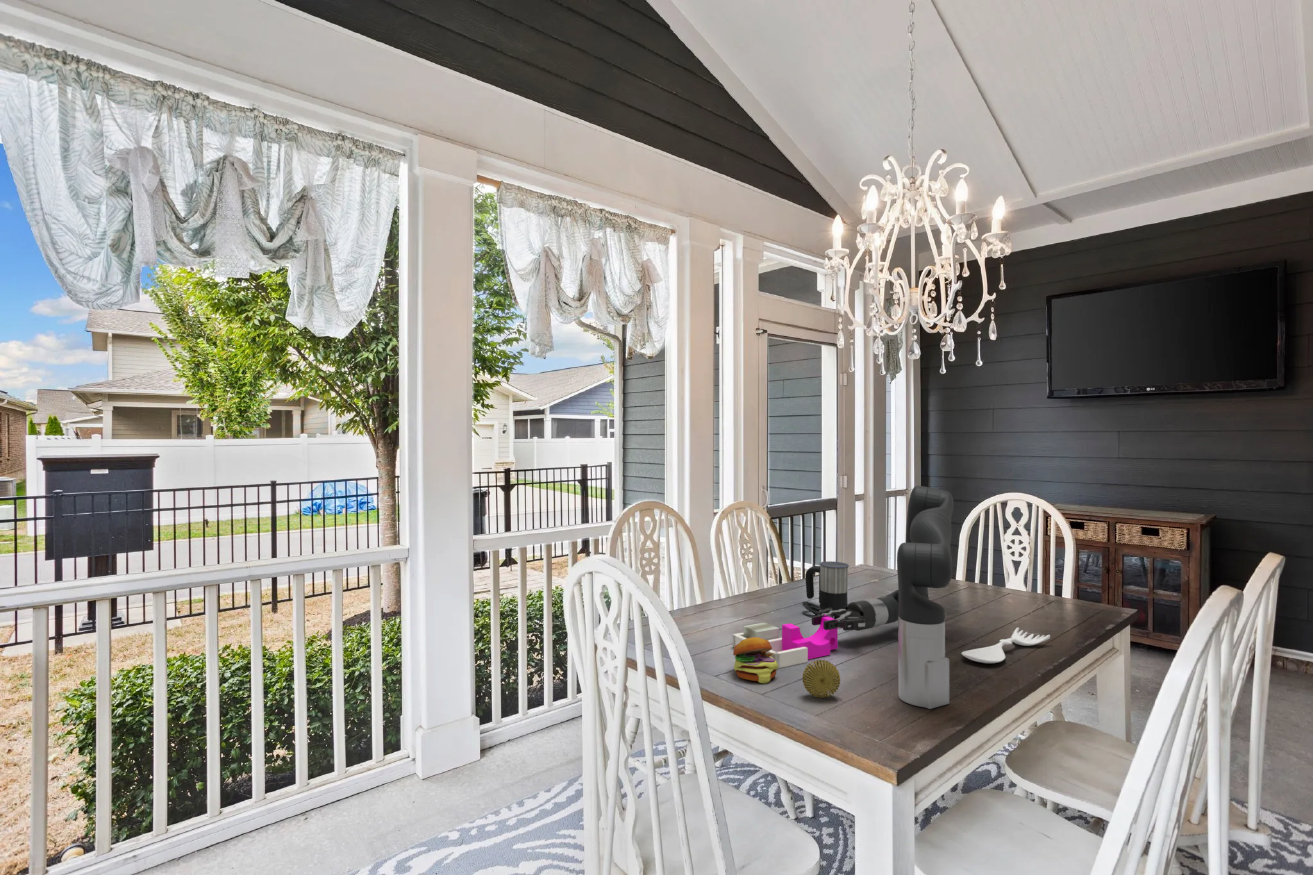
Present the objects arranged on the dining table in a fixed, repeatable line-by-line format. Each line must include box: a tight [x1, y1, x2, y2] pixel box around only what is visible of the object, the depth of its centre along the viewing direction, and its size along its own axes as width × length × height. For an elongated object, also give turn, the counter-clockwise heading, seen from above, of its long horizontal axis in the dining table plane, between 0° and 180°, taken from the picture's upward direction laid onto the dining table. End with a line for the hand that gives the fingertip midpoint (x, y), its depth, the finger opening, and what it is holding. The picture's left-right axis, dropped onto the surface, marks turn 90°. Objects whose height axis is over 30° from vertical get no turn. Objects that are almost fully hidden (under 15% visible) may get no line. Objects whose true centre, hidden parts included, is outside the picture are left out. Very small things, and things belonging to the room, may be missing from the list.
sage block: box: [743, 622, 780, 640], centre depth 172 cm, size 6×7×6 cm
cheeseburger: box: [732, 637, 779, 684], centre depth 154 cm, size 10×11×10 cm
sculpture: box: [802, 659, 841, 699], centre depth 141 cm, size 8×4×8 cm, turn 88°
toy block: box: [781, 617, 839, 660], centre depth 169 cm, size 15×6×8 cm, turn 115°
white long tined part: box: [961, 627, 1051, 664], centre depth 169 cm, size 9×32×4 cm, turn 126°
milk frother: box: [802, 560, 850, 616], centre depth 208 cm, size 14×16×15 cm
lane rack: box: [732, 632, 809, 670], centre depth 168 cm, size 18×10×4 cm, turn 28°
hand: (818, 623), depth 171 cm, fingers closed on toy block, 4 cm apart
